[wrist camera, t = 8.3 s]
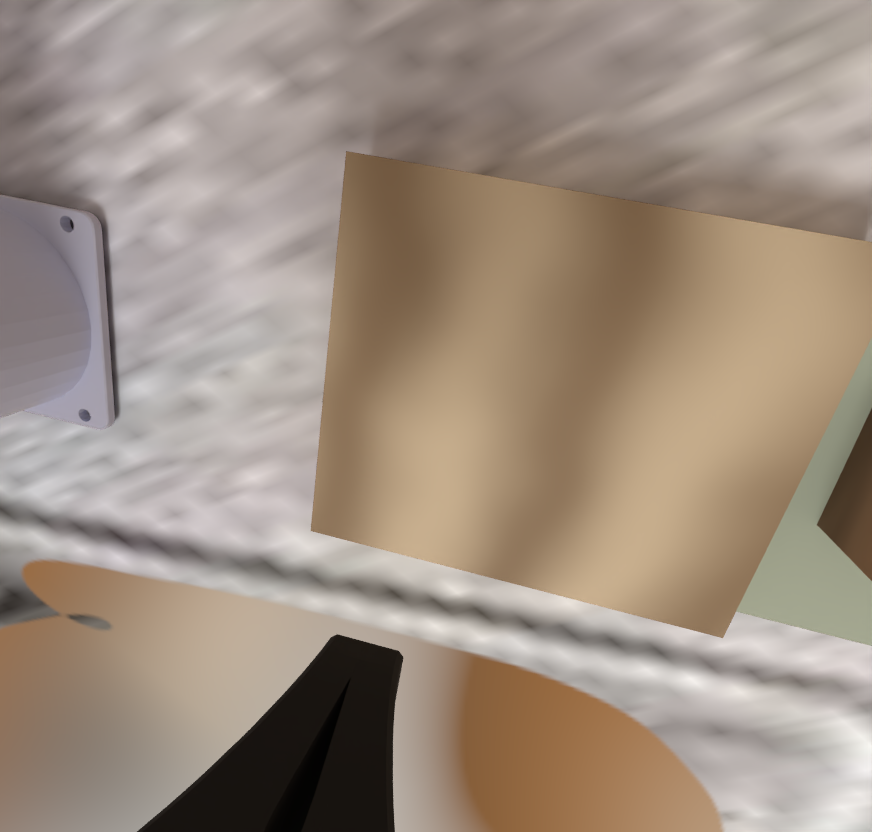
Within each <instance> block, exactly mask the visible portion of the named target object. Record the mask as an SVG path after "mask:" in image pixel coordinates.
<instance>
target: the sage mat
mask: <svg viewBox="0 0 872 832" xmlns="http://www.w3.org/2000/svg"><path fill="white" fill-rule="evenodd" d="M871 408H872V338H871V340H870V342H869V344H868V346H867V348H866V350H865V352H864V354H863V356H862V358H861V360H860V362H859V365H858V367H857V369H856V371H855V373H854V375H853V377H852V379H851V381H850V383H849V385H848V387H847V389H846V391H845V393H844V395H843V397H842V399H841V401H840V403H839V405H838V407H837V409H836V411H835V413H834V415H833V417H832V419H831V421H830V423H829V425H828V427H827V429H826V431H825V433H824V435H823V437H822V439H821V441H820V443H819V445H818V447H817V449H816V451H815V453H814V455H813V457H812V459H811V461H810V463H809V465H808V467H807V469H806V471H805V473H804V475H803V477H802V479H801V481H800V483H799V485H798V487H797V489H796V491H795V494H794V496H793V498H792V500H791V502H790V504H789V506H788V508H787V510H786V512H785V514H784V516H783V518H782V520H781V522H780V524H779V526H778V528H777V530H776V532H775V534H774V536H773V538H772V540H771V542H770V544H769V546H768V548H767V550H766V552H765V554H764V556H763V558H762V560H761V562H760V564H759V566H758V568H757V570H756V572H755V574H754V576H753V578H752V580H751V582H750V584H749V586H748V588H747V590H746V592H745V594H744V596H743V598H742V600H741V602H740V604H739V606H738V608H737V610H736V612H740V613H744V614H748V615H752V616H756V617H760V618H764V619H768V620H772V621H776V622H780V623H784V624H788V625H792V626H796V627H799V628H803V629H807V630H811V631H815V632H819V633H823V634H827V635H831V636H835V637H839V638H843V639H847V640H851V641H855V642H859V643H863V644H866V645H870V646H872V581H871V580H870V579H869V578H868V577H867V576H866V575H865V574H864V573H863V572H862V571H861V570H860V569H859V568H858V567H857V566H856V565H855V564H854V562H853V561H852V560H851V559H850V558H849V557H848V556H847V555H846V554H845V553H844V552H843V551H842V550H841V549H840V548H839V547H838V546H837V545H836V544H835V543H834V542H833V541H832V540H831V539H830V538H829V537H828V536H827V535H826V534H825V533H824V532H823V531H822V530H821V529H820V528H819V527H818V526H817V523H818V521H819V519H820V517H821V515H822V513H823V510H824V508H825V506H826V504H827V502H828V500H829V498H830V496H831V493H832V491H833V489H834V487H835V485H836V483H837V481H838V479H839V476H840V474H841V472H842V470H843V468H844V466H845V464H846V462H847V459H848V457H849V455H850V453H851V451H852V449H853V447H854V445H855V442H856V440H857V438H858V436H859V434H860V432H861V430H862V428H863V425H864V423H865V421H866V419H867V417H868V415H869V413H870V411H871Z"/></svg>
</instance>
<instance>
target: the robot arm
mask: <svg viewBox="0 0 872 832" xmlns="http://www.w3.org/2000/svg"><path fill="white" fill-rule="evenodd" d="M70 219H71V220H72V221H73V224H74V229H72V228H71V225H70ZM20 411H26V412H30V413H34V414H38V415H42V416H46V417H50V418H54V419H58V420H62V421H66V422H70V423H74V424H78V425H82V426H87V427H91V428H95V429H100V430H103V429H105V428H107V427H110V426H112V425H113V423H114V421H115V412H114V398H113V383H112V369H111V354H110V340H109V325H108V311H107V296H106V282H105V268H104V253H103V239H102V228H101V224H100V222H99V220H98V218H97V217H96V216H95V215H94V214H92V213H90V212H88V211H83V210H78V209H73V208H68V207H63V206H58V205H53V204H48V203H42V202H37V201H32V200H27V199H22V198H17V197H12V196H7V195H2V194H0V418H2V417H5V416H8V415H11V414H14V413H17V412H20ZM87 411H88V412H89V413H90V416H91V417H90V416H89V414H88V412H87ZM402 662H403V656H402V655H401V654H400V652H399V651H397V650H393V649H389V648H386V647H382V646H378V645H375V644H370V643H367V642H363V641H360V640H356V639H352V638H349V637H345V636H341V635H335V636H333V637H331V638H330V640H329V641H328V642H327V643H326V645H325V646H324V647H323V649H322V650H321V651H320V652H319V654H318V655H317V656H316V658H315V659H314V660H313V661H312V662H311V663H310V665H309V666H308V667H307V668H306V669H305V671H304V672H303V673H302V674H301V675H300V676H299V677H298V679H297V680H296V681H295V682H294V683H293V684H292V685H291V686H290V688H289V689H288V690H287V691H286V692H285V693H284V694H283V695H282V696H281V697H280V698H279V700H278V701H277V702H276V703H275V704H274V705H273V706H272V707H271V708H270V709H269V710H268V711H267V712H266V713H265V714H264V715H263V716H262V717H261V718H260V719H259V720H258V722H257V723H256V724H255V725H254V726H253V727H252V728H251V729H250V730H249V731H248V732H247V733H246V734H245V735H244V736H243V737H242V738H241V739H240V740H239V741H238V742H237V743H235V744H234V745H233V746H232V747H231V748H230V749H229V750H228V751H227V752H226V753H225V754H224V755H223V756H222V757H221V758H220V759H219V760H218V761H217V762H216V763H214V764H213V765H212V767H210V768H209V769H208V770H207V771H206V772H205V773H204V774H203V775H202V776H201V777H200V778H199V779H198V780H196V781H195V782H194V783H193V784H192V785H191V786H190V787H188V788H187V789H186V791H184V792H183V793H182V794H181V795H180V796H178V797H177V798H176V799H175V800H174V801H173V802H172V803H170V804H169V805H168V806H167V807H166V808H165V809H163V810H162V811H161V812H160V813H159V814H157V815H156V816H155V817H154V818H153V819H152V820H150V821H149V822H148V823H147V824H146V825H145V826H143V827H142V828H141V829H140V830H139V831H137V832H395V828H394V809H393V723H394V708H395V700H396V694H397V689H398V683H399V678H400V673H401V667H402Z"/></svg>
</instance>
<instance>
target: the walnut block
mask: <svg viewBox="0 0 872 832" xmlns="http://www.w3.org/2000/svg"><path fill="white" fill-rule="evenodd" d="M817 526H818V527H819V528H820V529H821V530H822V531H823V532H824V533H825V534H826V535H827V536H828V537H829V538H830V539H831V540H832V541H833V542H834V543H835V544H836V545H837V546H838V547H839V548H840V549H841V550H842V551H843V552H844V553H845V554H846V555H847V556H848V557H849V558H850V559H851V560H852V561H853V562H854V564H855V565H856V566H857V567H858V568H859V569H860V570H861V571H862V572H863V573H864V574H865V575H866V576H867V577H868V578H869V579H870V580H871V581H872V408H871V411H870V413H869V415H868V417H867V419H866V421H865V423H864V425H863V428H862V430H861V432H860V434H859V436H858V438H857V440H856V442H855V445H854V447H853V449H852V451H851V453H850V455H849V457H848V459H847V462H846V464H845V466H844V468H843V470H842V472H841V474H840V476H839V479H838V481H837V483H836V485H835V487H834V489H833V491H832V493H831V496H830V498H829V500H828V502H827V504H826V506H825V508H824V510H823V513H822V515H821V517H820V519H819V521H818V523H817Z"/></svg>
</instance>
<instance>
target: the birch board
mask: <svg viewBox="0 0 872 832" xmlns="http://www.w3.org/2000/svg"><path fill="white" fill-rule="evenodd" d="M871 338H872V242H868V241H862V240H856V239H850V238H845V237H839V236H833V235H827V234H821V233H816V232H810V231H804V230H798V229H793V228H787V227H781V226H775V225H769V224H764V223H758V222H752V221H746V220H740V219H735V218H729V217H723V216H717V215H712V214H706V213H700V212H694V211H688V210H683V209H677V208H671V207H665V206H659V205H654V204H648V203H642V202H636V201H631V200H625V199H619V198H613V197H607V196H602V195H596V194H590V193H584V192H578V191H573V190H567V189H561V188H555V187H550V186H544V185H538V184H532V183H526V182H521V181H515V180H509V179H503V178H497V177H492V176H486V175H480V174H474V173H469V172H463V171H457V170H451V169H445V168H440V167H434V166H428V165H422V164H416V163H411V162H405V161H399V160H393V159H388V158H382V157H376V156H370V155H364V154H359V153H353V152H347V151H346V160H345V171H344V181H343V192H342V203H341V214H340V224H339V235H338V246H337V256H336V267H335V278H334V288H333V299H332V310H331V320H330V331H329V342H328V352H327V363H326V374H325V384H324V395H323V406H322V416H321V427H320V438H319V449H318V459H317V470H316V481H315V491H314V502H313V513H312V523H311V531H313V532H317V533H321V534H325V535H329V536H333V537H336V538H340V539H344V540H348V541H352V542H356V543H360V544H363V545H367V546H371V547H375V548H379V549H383V550H387V551H390V552H394V553H398V554H402V555H406V556H410V557H413V558H417V559H421V560H425V561H429V562H433V563H437V564H440V565H444V566H448V567H452V568H456V569H460V570H463V571H467V572H471V573H475V574H479V575H483V576H487V577H490V578H494V579H498V580H502V581H506V582H510V583H513V584H517V585H521V586H525V587H529V588H533V589H537V590H540V591H544V592H548V593H552V594H556V595H560V596H563V597H567V598H571V599H575V600H579V601H583V602H587V603H590V604H594V605H598V606H602V607H606V608H610V609H613V610H617V611H621V612H625V613H629V614H633V615H637V616H640V617H644V618H648V619H652V620H656V621H660V622H663V623H667V624H671V625H675V626H679V627H683V628H687V629H690V630H694V631H698V632H702V633H706V634H710V635H713V636H717V637H721V638H723V637H724V635H725V633H726V631H727V629H728V627H729V625H730V623H731V620H732V618H733V616H734V614H735V612H736V610H737V608H738V606H739V604H740V602H741V600H742V598H743V596H744V594H745V592H746V590H747V588H748V586H749V584H750V582H751V580H752V578H753V576H754V574H755V572H756V570H757V568H758V566H759V564H760V562H761V560H762V558H763V556H764V554H765V552H766V550H767V548H768V546H769V544H770V542H771V540H772V538H773V536H774V534H775V532H776V530H777V528H778V526H779V524H780V522H781V520H782V518H783V516H784V514H785V512H786V510H787V508H788V506H789V504H790V502H791V500H792V498H793V496H794V494H795V491H796V489H797V487H798V485H799V483H800V481H801V479H802V477H803V475H804V473H805V471H806V469H807V467H808V465H809V463H810V461H811V459H812V457H813V455H814V453H815V451H816V449H817V447H818V445H819V443H820V441H821V439H822V437H823V435H824V433H825V431H826V429H827V427H828V425H829V423H830V421H831V419H832V417H833V415H834V413H835V411H836V409H837V407H838V405H839V403H840V401H841V399H842V397H843V395H844V393H845V391H846V389H847V387H848V385H849V383H850V381H851V379H852V377H853V375H854V373H855V371H856V369H857V367H858V365H859V362H860V360H861V358H862V356H863V354H864V352H865V350H866V348H867V346H868V344H869V342H870V340H871Z"/></svg>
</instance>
